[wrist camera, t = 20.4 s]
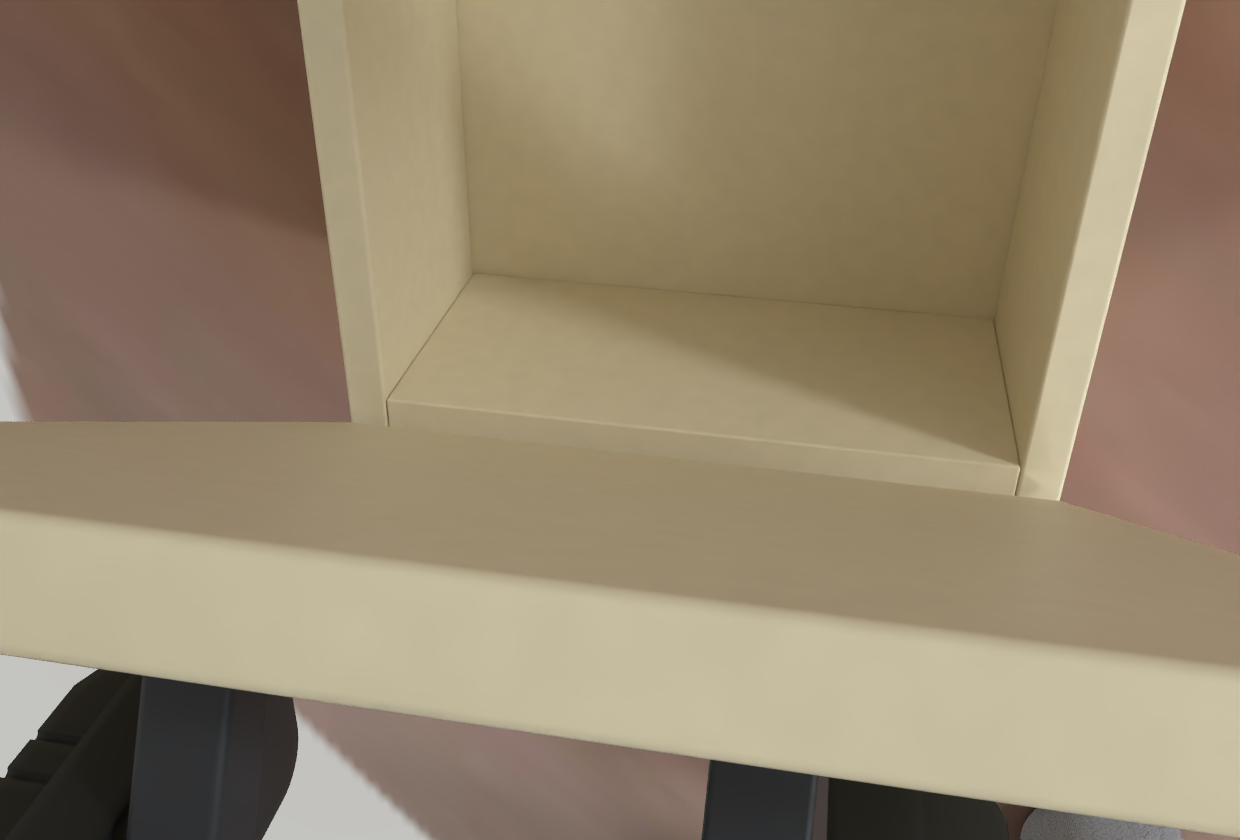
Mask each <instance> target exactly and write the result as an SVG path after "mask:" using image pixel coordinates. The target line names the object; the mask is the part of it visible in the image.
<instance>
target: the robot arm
mask: <svg viewBox="0 0 1240 840" xmlns="http://www.w3.org/2000/svg"><path fill="white" fill-rule="evenodd" d="M141 683H142V675H136V674H130V673H123V672H116V671H109V670H103V669H98V670H96V671H95V672H93V673H92V674H90V675H89V676H88V677H86V678H85V679H83V680H82V681H80V682H79V683H77V684H76V685H74V687H73V688H72V689H71V690H70V692H69V693H68V694H67V695H66V696H65V698H64V699H63V700H62V701H61V702H60V704H59V705H58V706H57V707H56V709H55V710H54V711H53V712H52V714H51V715H50V716H49V717H48V719H47V720H46V721H45V722H44V723H43V725H42V726H41V727H40V728H39V730H38V736H37V738H36V739H35V740H30V741H29V742H28V743H27V744H26V746H25V747H24V748H23V749H22V751H21V752H20V753H19V754H18V755H17V757H16V758H15V759H14V760H13V762H12V763H11V764H10V765H9V766H8V772H7V775H6V777H5V778H1V777H0V840H126V835H127V825H128V815H129V805H130V794H131V784H132V774H133V764H134V754H135V744H136V734H137V724H138V714H139V704H140V694H141ZM297 750H298V728H297V721H296V715H295V710H294V704H293V698H292V697H285V696H278V695H271V694H268V703H267V713H266V723H265V733H264V743H263V753H262V762H261V772H260V782H259V792H258V802H257V812H256V822H255V832H254V840H262V838H263V836H264V835H265V832H266V831H267V829H268V827H269V825H270V823H271V821H272V820H273V818H274V816H275V814H276V812H277V810H278V808H279V806H280V805H281V802H282V801H283V799H284V797H285V795H286V793H287V790H288V788H289V785H290V782H291V778H292V776H293V771H294V768H295V762H296V758H297ZM812 840H1009V836H1008V828H1007V821H1006V819H1005V818H1004V816H1003V814H1002V813H1001V811H1000V809H999V808H998V806H997V804H996V803H995V802H993V801H986V800H979V799H973V798H966V797H959V796H952V795H946V794H939V793H932V792H925V791H919V790H912V789H905V788H898V787H892V786H885V785H878V784H872V783H865V782H858V781H851V780H845V779H838V778H831V777H824V776H819V779H818V788H817V798H816V807H815V816H814V826H813V835H812Z"/></svg>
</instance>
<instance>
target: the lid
mask: <svg viewBox="0 0 1240 840" xmlns="http://www.w3.org/2000/svg"><path fill="white" fill-rule="evenodd" d="M0 654H2V655H8V656H16V657H22V658H29V659H35V660H42V661H50V662H56V663H62V664H69V665H76V666H82V667H89V668H96V669H103V670H109V671H116V672H123V673H130V674H136V675H142V683H141V694H140V704H139V714H138V724H137V734H136V744H135V754H134V764H133V774H132V784H131V794H130V805H129V815H128V825H127V835H126V840H254V832H255V822H256V812H257V802H258V792H259V782H260V772H261V762H262V753H263V743H264V733H265V723H266V713H267V703H268V694H271V695H278V696H285V697H292V698H298V699H305V700H312V701H319V702H325V703H332V704H339V705H345V706H352V707H359V708H366V709H372V710H379V711H386V712H393V713H399V714H406V715H413V716H420V717H426V718H433V719H440V720H447V721H453V722H460V723H467V724H474V725H480V726H487V727H494V728H501V729H507V730H514V731H521V732H528V733H534V734H541V735H548V736H555V737H561V738H568V739H575V740H582V741H588V742H595V743H602V744H609V745H615V746H622V747H629V748H635V749H642V750H649V751H656V752H662V753H669V754H676V755H683V756H689V757H696V758H703V759H710V765H709V774H708V783H707V793H706V802H705V812H704V821H703V831H702V840H812V835H813V826H814V816H815V807H816V798H817V788H818V779H819V776H824V777H831V778H838V779H845V780H851V781H858V782H865V783H872V784H878V785H885V786H892V787H898V788H905V789H912V790H919V791H925V792H932V793H939V794H946V795H952V796H959V797H966V798H973V799H979V800H986V801H993V802H1000V803H1006V804H1013V805H1020V806H1027V807H1033V808H1040V809H1047V810H1054V811H1060V812H1067V813H1074V814H1081V815H1087V816H1094V817H1101V818H1108V819H1114V820H1121V821H1128V822H1135V823H1141V824H1148V825H1155V826H1162V827H1168V828H1175V829H1182V830H1188V831H1195V832H1202V833H1209V834H1215V835H1222V836H1229V837H1236V838H1240V555H1238V554H1235V553H1232V552H1228V551H1225V550H1222V549H1218V548H1215V547H1212V546H1208V545H1205V544H1202V543H1198V542H1195V541H1192V540H1188V539H1185V538H1182V537H1178V536H1175V535H1172V534H1169V533H1165V532H1162V531H1159V530H1155V529H1152V528H1149V527H1145V526H1142V525H1139V524H1135V523H1132V522H1129V521H1125V520H1122V519H1119V518H1115V517H1112V516H1109V515H1105V514H1102V513H1099V512H1095V511H1092V510H1089V509H1085V508H1082V507H1079V506H1075V505H1072V504H1069V503H1065V502H1062V501H1057V500H1048V499H1039V498H1030V497H1021V496H1011V495H1002V494H993V493H984V492H975V491H966V490H957V489H948V488H939V487H930V486H921V485H912V484H903V483H894V482H885V481H876V480H867V479H858V478H849V477H840V476H831V475H821V474H812V473H803V472H794V471H785V470H776V469H767V468H758V467H749V466H740V465H731V464H722V463H713V462H704V461H695V460H686V459H677V458H668V457H659V456H650V455H640V454H631V453H622V452H613V451H604V450H595V449H586V448H577V447H568V446H559V445H550V444H541V443H532V442H523V441H514V440H505V439H496V438H487V437H478V436H469V435H460V434H450V433H441V432H432V431H423V430H414V429H405V428H396V427H387V426H378V425H369V424H360V423H351V422H0Z"/></svg>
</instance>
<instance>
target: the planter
mask: <svg viewBox="0 0 1240 840" xmlns="http://www.w3.org/2000/svg"><path fill="white" fill-rule="evenodd" d="M1020 840H1183V837H1182V834H1181V831H1180V829H1175V828H1168V827H1162V826H1155V825H1148V824H1141V823H1135V822H1128V821H1121V820H1114V819H1108V818H1101V817H1094V816H1087V815H1081V814H1074V813H1067V812H1060V811H1054V810H1047V809H1040V808H1036V809H1035V810H1034V811H1033V812H1032V813H1031V814H1030V815H1029V817H1028V818H1027V819H1026V821H1025V823H1024V825H1023V827H1022V830H1021V836H1020Z"/></svg>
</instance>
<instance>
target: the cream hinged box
mask: <svg viewBox="0 0 1240 840" xmlns="http://www.w3.org/2000/svg"><path fill="white" fill-rule="evenodd" d="M297 3H298V11H299V18H300V26H301V34H302V41H303V49H304V57H305V65H306V72H307V80H308V88H309V96H310V103H311V111H312V119H313V126H314V134H315V142H316V150H317V157H318V165H319V173H320V181H321V188H322V196H323V204H324V211H325V219H326V227H327V235H328V242H329V250H330V258H331V266H332V273H333V281H334V289H335V297H336V304H337V312H338V320H339V327H340V335H341V343H342V351H343V358H344V366H345V374H346V382H347V389H348V397H349V405H350V412H351V420H352V423H360V424H369V425H378V426H387V427H396V428H405V429H414V430H423V431H432V432H441V433H450V434H460V435H469V436H478V437H487V438H496V439H505V440H514V441H523V442H532V443H541V444H550V445H559V446H568V447H577V448H586V449H595V450H604V451H613V452H622V453H631V454H640V455H650V456H659V457H668V458H677V459H686V460H695V461H704V462H713V463H722V464H731V465H740V466H749V467H758V468H767V469H776V470H785V471H794V472H803V473H812V474H821V475H831V476H840V477H849V478H858V479H867V480H876V481H885V482H894V483H903V484H912V485H921V486H930V487H939V488H948V489H957V490H966V491H975V492H984V493H993V494H1002V495H1011V496H1021V497H1030V498H1039V499H1048V500H1057V501H1059V500H1060V496H1061V492H1062V488H1063V484H1064V480H1065V477H1066V473H1067V469H1068V465H1069V461H1070V457H1071V453H1072V449H1073V445H1074V441H1075V437H1076V433H1077V429H1078V425H1079V421H1080V417H1081V413H1082V409H1083V405H1084V402H1085V398H1086V394H1087V390H1088V386H1089V382H1090V378H1091V374H1092V370H1093V366H1094V362H1095V358H1096V354H1097V350H1098V346H1099V342H1100V338H1101V334H1102V330H1103V327H1104V323H1105V319H1106V315H1107V311H1108V307H1109V303H1110V299H1111V295H1112V291H1113V287H1114V283H1115V279H1116V275H1117V271H1118V267H1119V263H1120V259H1121V255H1122V252H1123V248H1124V244H1125V240H1126V236H1127V232H1128V228H1129V224H1130V220H1131V216H1132V212H1133V208H1134V204H1135V200H1136V196H1137V192H1138V188H1139V184H1140V180H1141V177H1142V173H1143V169H1144V165H1145V161H1146V157H1147V153H1148V149H1149V145H1150V141H1151V137H1152V133H1153V129H1154V125H1155V121H1156V117H1157V113H1158V109H1159V105H1160V102H1161V98H1162V94H1163V90H1164V86H1165V82H1166V78H1167V74H1168V70H1169V66H1170V62H1171V58H1172V54H1173V50H1174V46H1175V42H1176V38H1177V34H1178V31H1179V27H1180V23H1181V19H1182V15H1183V11H1184V7H1185V3H1186V0H297Z"/></svg>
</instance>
